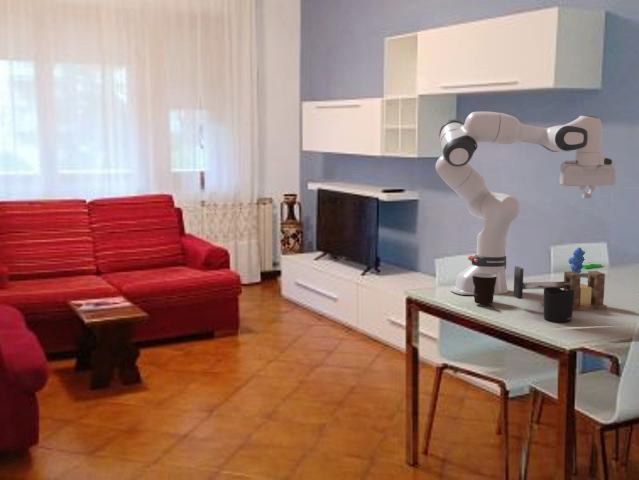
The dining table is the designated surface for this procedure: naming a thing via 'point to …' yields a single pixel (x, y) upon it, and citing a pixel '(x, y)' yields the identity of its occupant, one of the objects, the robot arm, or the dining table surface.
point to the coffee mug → (484, 287)
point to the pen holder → (558, 305)
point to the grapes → (577, 260)
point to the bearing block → (594, 281)
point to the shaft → (532, 283)
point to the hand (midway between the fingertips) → (586, 198)
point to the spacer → (585, 295)
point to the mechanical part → (591, 265)
